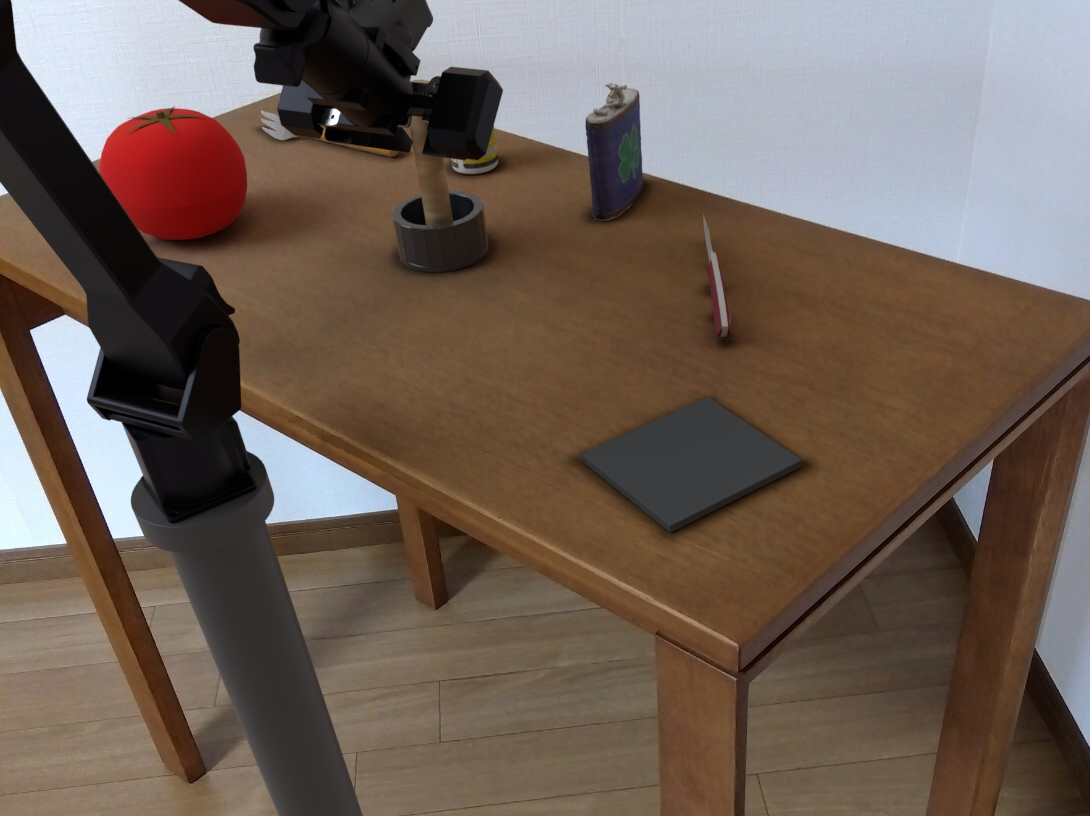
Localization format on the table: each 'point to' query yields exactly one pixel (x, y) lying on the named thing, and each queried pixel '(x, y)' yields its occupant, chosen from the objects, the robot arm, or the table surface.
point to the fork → (284, 134)
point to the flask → (615, 152)
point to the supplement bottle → (483, 163)
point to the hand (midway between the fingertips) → (437, 150)
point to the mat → (690, 463)
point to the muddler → (430, 176)
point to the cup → (441, 234)
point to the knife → (717, 290)
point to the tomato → (175, 173)
